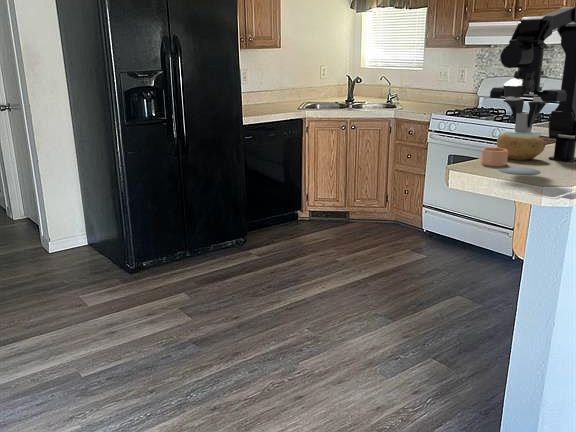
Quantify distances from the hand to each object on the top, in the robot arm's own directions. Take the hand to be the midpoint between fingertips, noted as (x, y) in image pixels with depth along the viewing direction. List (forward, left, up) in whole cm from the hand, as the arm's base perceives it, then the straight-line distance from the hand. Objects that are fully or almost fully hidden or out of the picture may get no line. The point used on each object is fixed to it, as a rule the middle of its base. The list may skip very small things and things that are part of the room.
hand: (523, 126), depth 150 cm
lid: (0, 0, -2) cm, 2 cm away
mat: (0, 0, -12) cm, 12 cm away
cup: (-4, -10, -12) cm, 17 cm away
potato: (-16, -9, -13) cm, 23 cm away
